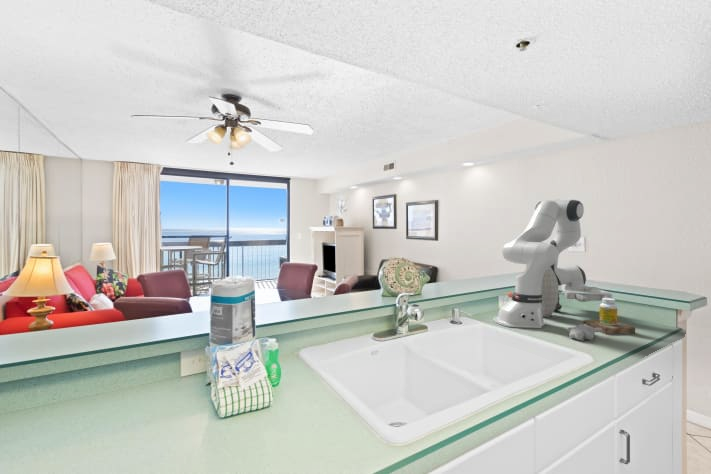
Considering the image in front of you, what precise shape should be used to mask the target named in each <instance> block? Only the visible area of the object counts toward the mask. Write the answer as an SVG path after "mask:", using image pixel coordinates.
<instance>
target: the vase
mask: <svg viewBox="0 0 711 474" xmlns="http://www.w3.org/2000/svg"><path fill="white" fill-rule="evenodd" d="M558 292H559V286H558V281H557V278H556V275H555V273H554V271H553V270H552V268H551V267H549V268H548V269H547V270H546V272H545V273H544V275H543V279H542V288H541V294H542V305H541V307H542V315H543V318H551V316H552V315H553V313H554V310H555V308H556V305H557V302H558Z"/></svg>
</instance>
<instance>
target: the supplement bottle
mask: <svg viewBox="0 0 711 474" xmlns="http://www.w3.org/2000/svg"><path fill="white" fill-rule="evenodd" d="M601 302H602V303H600V304H599V319H598V320H599V322H600V323H602V324H605V325H617V322H618V305H616V299H615V298H613V297H612V298H602V301H601Z"/></svg>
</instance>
